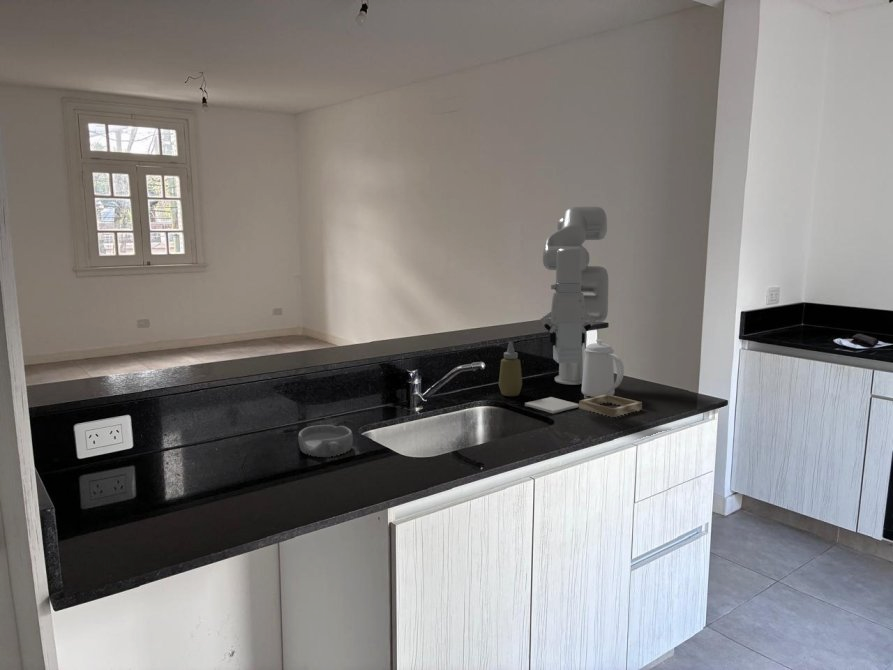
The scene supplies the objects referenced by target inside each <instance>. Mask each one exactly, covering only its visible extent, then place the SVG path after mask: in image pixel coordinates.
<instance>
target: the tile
mask: <svg viewBox="0 0 893 670" xmlns="http://www.w3.org/2000/svg"><path fill="white" fill-rule="evenodd" d="M524 407H529V408H533V409H535V410H539V411H543V412H547V413H550V414H557V413H561V412H563V411H569V410H572V409H576V408H579V403H576V402H572V401H567V400H564V399H560V398H556V397H553V396H549V397H546V398H541V399H536V400H533V401H532V400H531V401H528V402H524Z"/></svg>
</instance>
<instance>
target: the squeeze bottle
mask: <svg viewBox="0 0 893 670" xmlns="http://www.w3.org/2000/svg"><path fill="white" fill-rule="evenodd" d="M518 356H519V353H518V352H515V348H514V342H513V341H509V342H508V346H507V350H506V351H505V352H503V358H502V359H501V360H500V367H499V376H498V377H499V378H498V387H499V390H500V393H501V396H506V397H516V396H519V395H520V392H521V390H522V386H523V376H522V366H521V359H519V358H518Z"/></svg>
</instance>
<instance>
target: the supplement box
mask: <svg viewBox="0 0 893 670" xmlns="http://www.w3.org/2000/svg"><path fill="white" fill-rule="evenodd" d="M554 332H555V345H554V346H552V359H553V360H554V361H555V362H556V363H557V364H559V363H581V347H582V323H578V322H559V323H557V326H556V329H555V330H554Z"/></svg>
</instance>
